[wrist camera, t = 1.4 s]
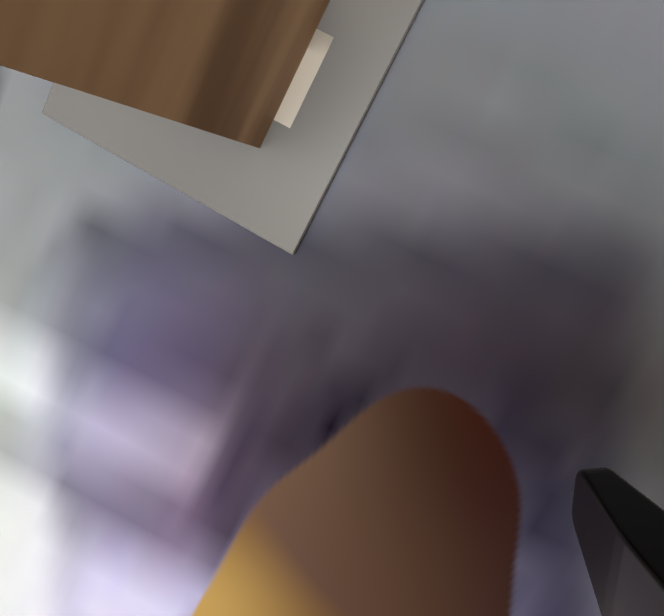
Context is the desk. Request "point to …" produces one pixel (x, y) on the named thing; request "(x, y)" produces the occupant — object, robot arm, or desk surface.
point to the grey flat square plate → (282, 137)
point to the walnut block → (168, 55)
